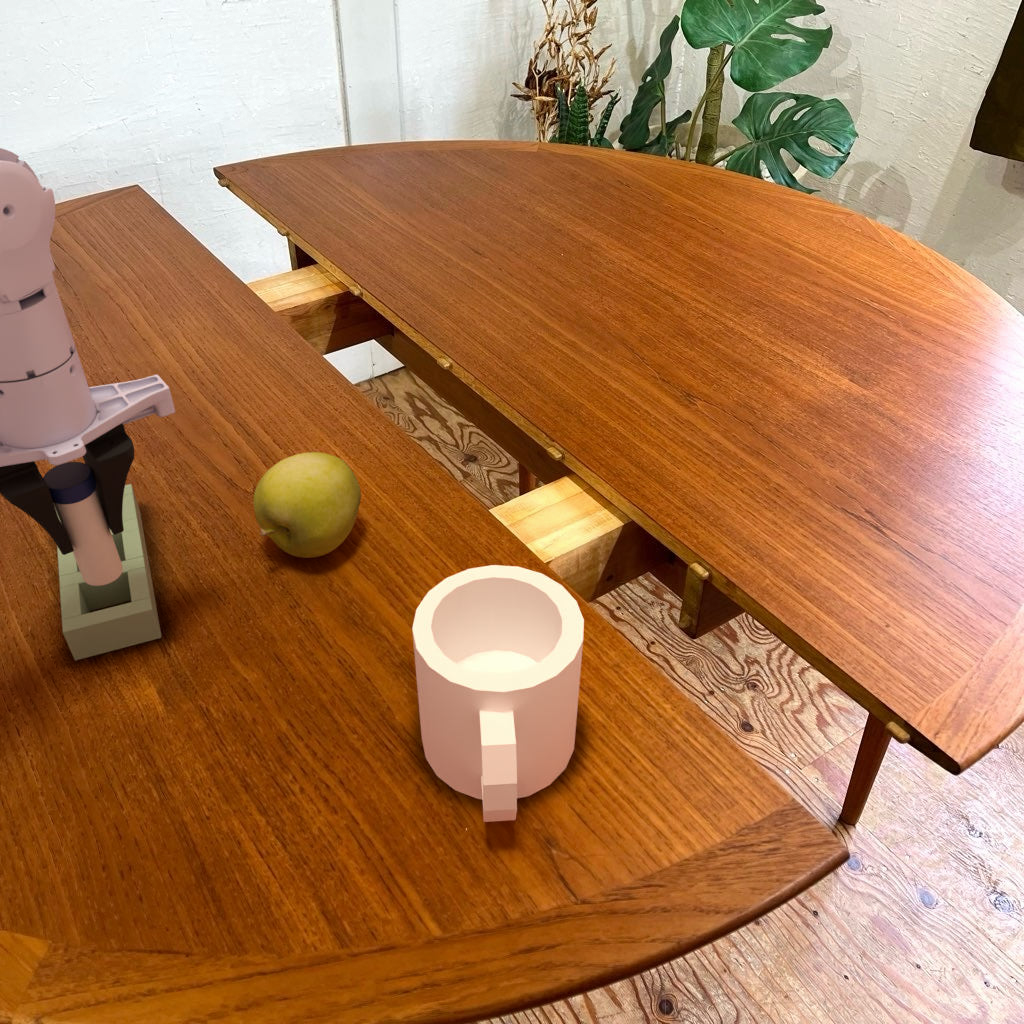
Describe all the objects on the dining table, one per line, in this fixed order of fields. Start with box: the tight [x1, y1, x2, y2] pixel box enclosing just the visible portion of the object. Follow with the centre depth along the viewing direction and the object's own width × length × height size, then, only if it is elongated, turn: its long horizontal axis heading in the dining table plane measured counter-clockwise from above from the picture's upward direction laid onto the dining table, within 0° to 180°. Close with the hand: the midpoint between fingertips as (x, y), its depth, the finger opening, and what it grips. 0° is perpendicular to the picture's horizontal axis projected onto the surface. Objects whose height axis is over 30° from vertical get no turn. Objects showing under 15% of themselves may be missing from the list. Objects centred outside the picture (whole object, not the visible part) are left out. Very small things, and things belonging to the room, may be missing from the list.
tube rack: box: [55, 483, 162, 661], centre depth 74 cm, size 15×6×3 cm, turn 22°
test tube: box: [42, 461, 123, 586], centre depth 62 cm, size 3×3×8 cm
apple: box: [252, 451, 362, 559], centre depth 75 cm, size 8×9×8 cm
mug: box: [411, 564, 585, 823], centre depth 59 cm, size 14×10×11 cm
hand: (88, 535), depth 63 cm, fingers closed on test tube, 3 cm apart
